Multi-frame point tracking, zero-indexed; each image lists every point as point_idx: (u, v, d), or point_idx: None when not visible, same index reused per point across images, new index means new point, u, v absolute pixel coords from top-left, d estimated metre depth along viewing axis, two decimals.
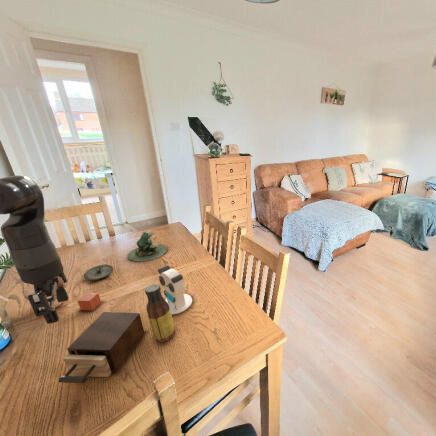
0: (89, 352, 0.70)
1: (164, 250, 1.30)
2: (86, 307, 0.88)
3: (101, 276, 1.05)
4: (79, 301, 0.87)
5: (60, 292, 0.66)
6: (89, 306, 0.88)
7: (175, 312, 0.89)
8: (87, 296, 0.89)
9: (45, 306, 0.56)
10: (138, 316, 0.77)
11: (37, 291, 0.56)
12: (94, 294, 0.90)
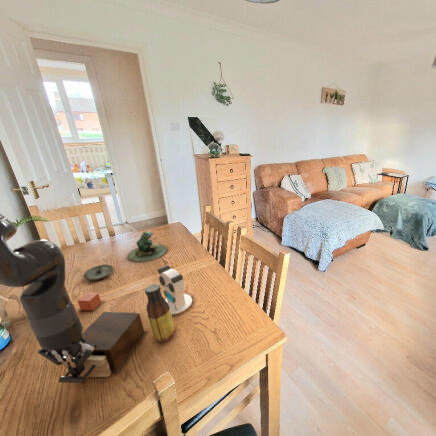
0: None
1: (164, 250, 1.30)
2: (86, 307, 0.88)
3: (101, 276, 1.05)
4: (79, 301, 0.87)
5: None
6: (89, 306, 0.88)
7: (175, 312, 0.89)
8: (87, 296, 0.89)
9: (91, 353, 0.61)
10: (138, 316, 0.77)
11: (86, 346, 0.58)
12: (94, 294, 0.90)
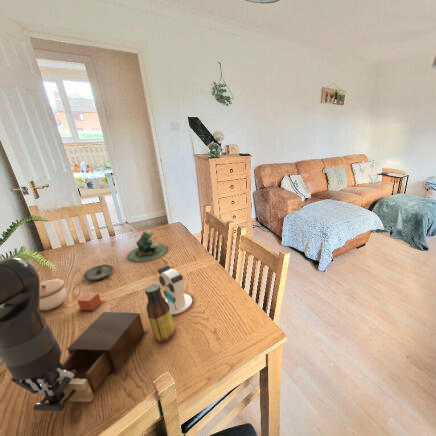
0: None
1: (164, 250, 1.30)
2: (86, 307, 0.88)
3: (101, 276, 1.05)
4: (79, 301, 0.87)
5: None
6: (89, 306, 0.88)
7: (175, 312, 0.89)
8: (87, 296, 0.89)
9: None
10: (138, 316, 0.77)
11: (64, 373, 0.53)
12: (94, 294, 0.90)
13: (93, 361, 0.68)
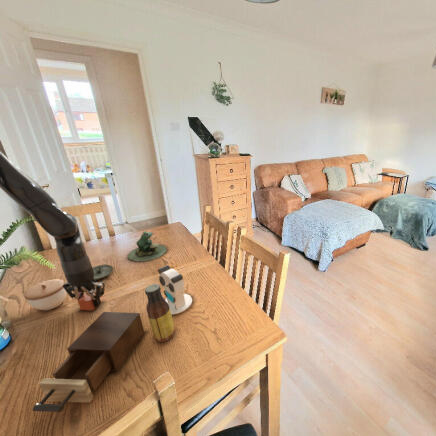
0: (70, 374, 0.64)
1: (164, 250, 1.30)
2: (86, 307, 0.88)
3: (101, 276, 1.05)
4: (79, 301, 0.87)
5: None
6: (89, 306, 0.88)
7: (175, 312, 0.89)
8: (87, 296, 0.89)
9: None
10: (138, 316, 0.77)
11: None
12: (94, 294, 0.90)
13: (93, 362, 0.68)
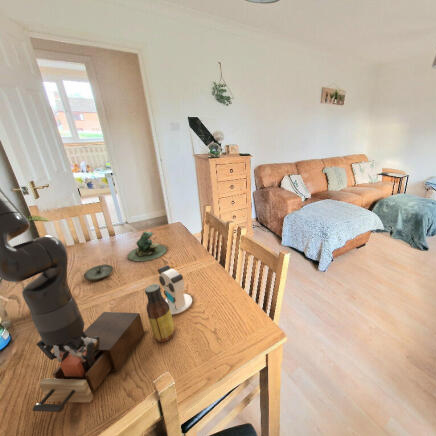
0: None
1: (164, 250, 1.30)
2: (73, 373, 0.60)
3: (101, 276, 1.05)
4: (62, 365, 0.59)
5: None
6: (77, 372, 0.60)
7: (175, 312, 0.89)
8: None
9: None
10: (138, 316, 0.77)
11: None
12: None
13: None
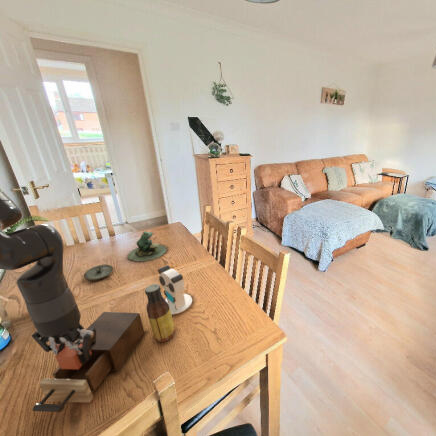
0: (70, 374, 0.64)
1: (164, 250, 1.30)
2: (69, 365, 0.59)
3: (101, 276, 1.05)
4: (58, 357, 0.58)
5: None
6: (73, 364, 0.59)
7: (175, 312, 0.89)
8: None
9: None
10: (138, 316, 0.77)
11: None
12: (81, 344, 0.61)
13: (93, 362, 0.68)
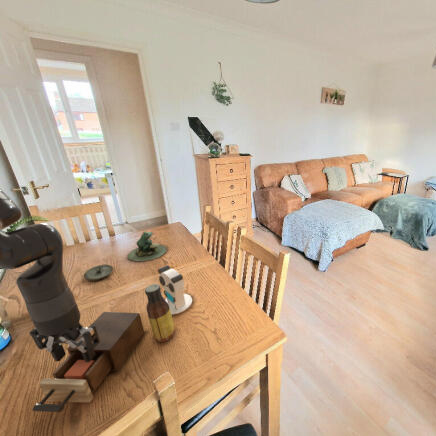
0: None
1: (164, 250, 1.30)
2: None
3: (101, 276, 1.05)
4: (67, 376, 0.60)
5: None
6: None
7: (175, 312, 0.89)
8: (78, 367, 0.62)
9: None
10: (138, 316, 0.77)
11: None
12: (88, 362, 0.63)
13: None
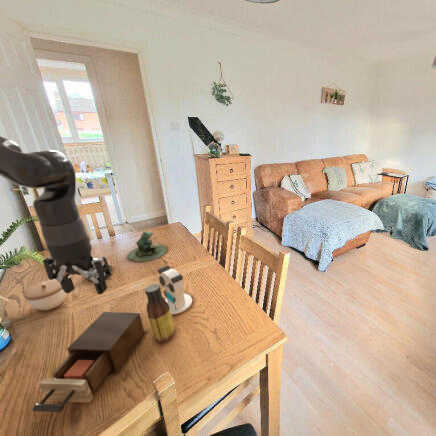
0: None
1: (164, 250, 1.30)
2: None
3: None
4: (67, 376, 0.60)
5: None
6: None
7: (175, 312, 0.89)
8: (78, 367, 0.62)
9: None
10: (138, 316, 0.77)
11: None
12: (88, 362, 0.63)
13: None
